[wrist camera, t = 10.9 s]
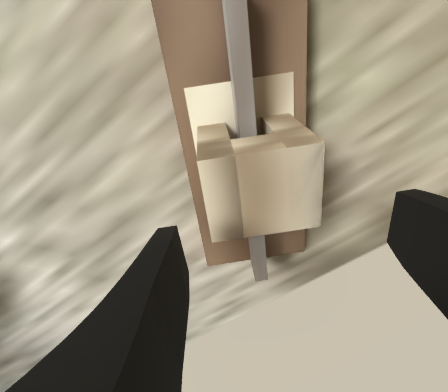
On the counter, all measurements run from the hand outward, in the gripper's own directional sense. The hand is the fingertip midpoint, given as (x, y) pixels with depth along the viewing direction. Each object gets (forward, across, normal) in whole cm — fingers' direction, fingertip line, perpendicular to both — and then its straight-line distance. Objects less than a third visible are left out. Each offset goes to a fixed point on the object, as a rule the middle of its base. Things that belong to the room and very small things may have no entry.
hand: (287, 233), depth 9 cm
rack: (+9, 0, 0) cm, 9 cm away
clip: (+8, 0, 0) cm, 8 cm away
